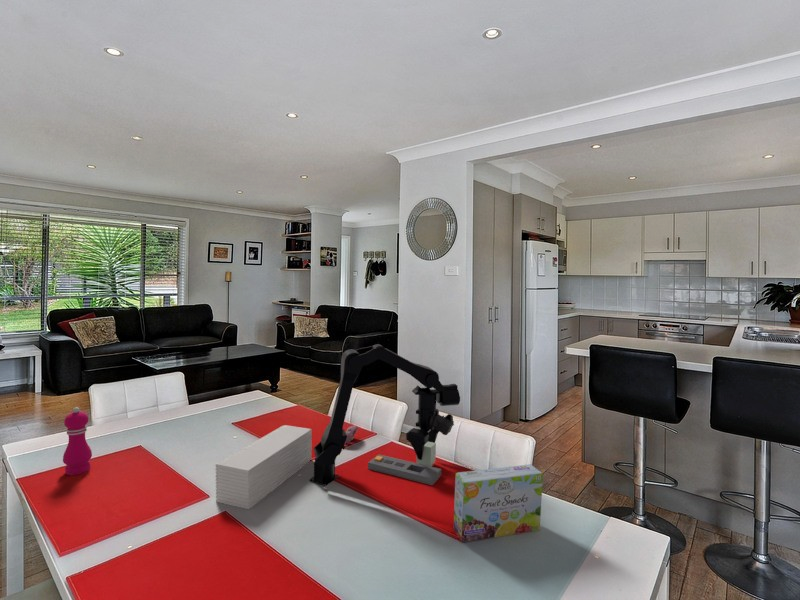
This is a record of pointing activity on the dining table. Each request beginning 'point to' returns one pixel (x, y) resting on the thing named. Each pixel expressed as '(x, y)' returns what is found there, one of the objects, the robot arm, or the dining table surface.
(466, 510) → the snack box
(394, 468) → the power strip
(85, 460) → the pepper mill
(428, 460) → the block
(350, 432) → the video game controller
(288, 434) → the stack of papers
